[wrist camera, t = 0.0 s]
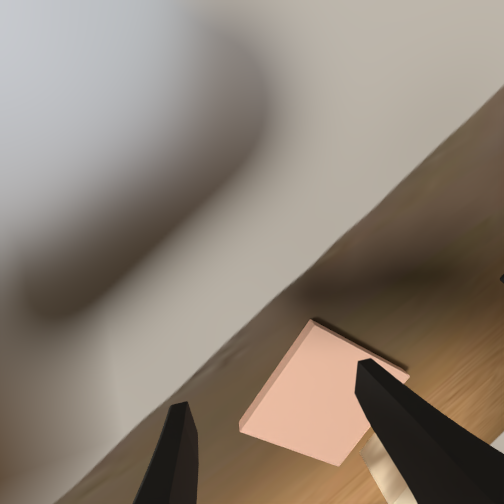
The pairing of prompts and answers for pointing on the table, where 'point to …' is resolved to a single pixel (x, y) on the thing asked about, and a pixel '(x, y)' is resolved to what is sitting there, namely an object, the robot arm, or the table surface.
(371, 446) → the birch cube
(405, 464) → the robot arm
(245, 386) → the table surface
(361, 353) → the salmon pink board
